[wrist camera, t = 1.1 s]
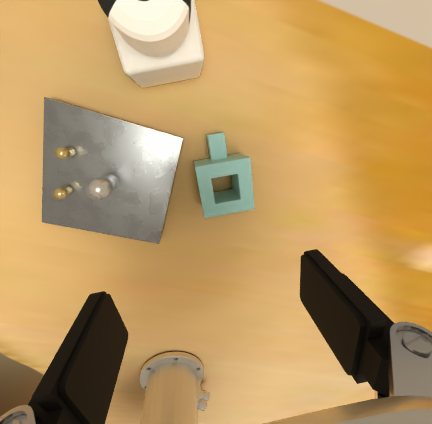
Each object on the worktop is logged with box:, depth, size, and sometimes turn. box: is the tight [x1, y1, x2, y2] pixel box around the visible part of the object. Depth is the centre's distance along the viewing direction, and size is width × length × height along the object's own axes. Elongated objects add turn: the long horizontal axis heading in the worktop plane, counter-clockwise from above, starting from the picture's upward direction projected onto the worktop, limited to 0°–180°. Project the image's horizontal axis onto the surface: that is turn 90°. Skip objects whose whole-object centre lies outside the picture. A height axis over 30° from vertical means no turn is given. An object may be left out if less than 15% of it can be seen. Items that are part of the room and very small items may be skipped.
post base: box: [42, 97, 183, 244], centre depth 25 cm, size 15×15×6 cm
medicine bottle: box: [98, 0, 204, 88], centre depth 18 cm, size 7×7×12 cm
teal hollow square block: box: [194, 132, 255, 218], centre depth 27 cm, size 9×6×5 cm
